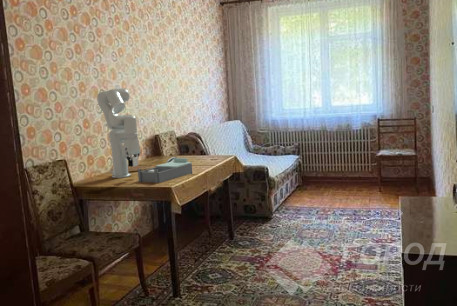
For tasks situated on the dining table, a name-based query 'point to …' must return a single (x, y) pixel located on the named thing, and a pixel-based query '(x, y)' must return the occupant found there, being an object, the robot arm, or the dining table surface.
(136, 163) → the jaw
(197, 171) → the dining table surface
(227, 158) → the dining table surface
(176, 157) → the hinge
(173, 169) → the housing
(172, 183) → the dining table surface
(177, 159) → the lid
